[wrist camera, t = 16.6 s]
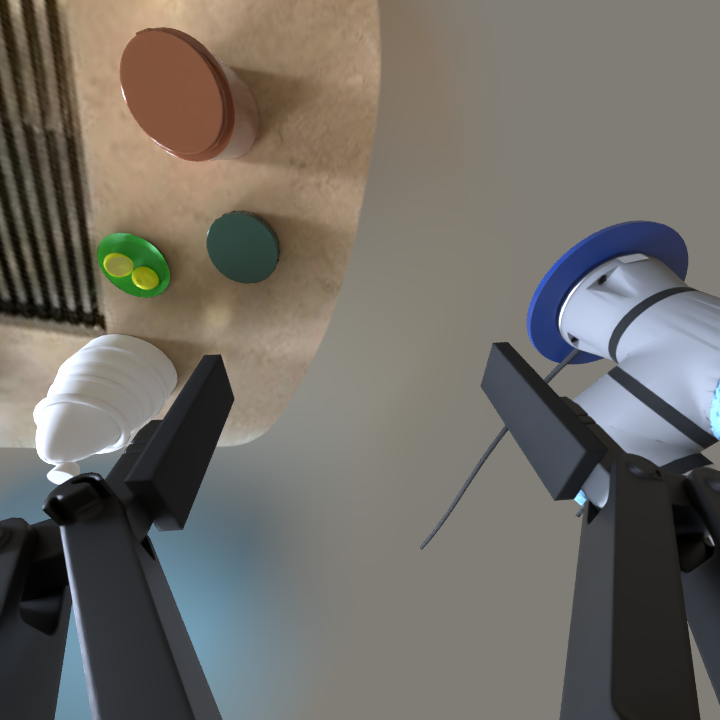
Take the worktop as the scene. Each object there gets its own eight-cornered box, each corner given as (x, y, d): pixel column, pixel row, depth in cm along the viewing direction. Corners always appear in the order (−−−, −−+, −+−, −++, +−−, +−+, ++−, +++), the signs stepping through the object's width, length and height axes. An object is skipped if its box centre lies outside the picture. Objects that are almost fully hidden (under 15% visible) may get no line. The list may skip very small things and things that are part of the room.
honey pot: (193, 369, 48) (132, 467, 33) (152, 413, 52) (81, 517, 37) (106, 316, 42) (-17, 407, 27) (68, 371, 46) (-57, 475, 31)
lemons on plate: (99, 281, 39) (85, 289, 37) (101, 219, 35) (85, 224, 33) (167, 304, 41) (158, 313, 39) (176, 249, 38) (165, 255, 35)
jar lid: (222, 196, 35) (217, 197, 33) (290, 233, 38) (288, 237, 36) (203, 259, 39) (197, 264, 37) (266, 289, 41) (263, 294, 40)
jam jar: (272, 147, 33) (248, 144, 23) (206, 168, 33) (157, 174, 24) (238, 51, 28) (192, -1, 19) (164, 78, 29) (83, 41, 19)
